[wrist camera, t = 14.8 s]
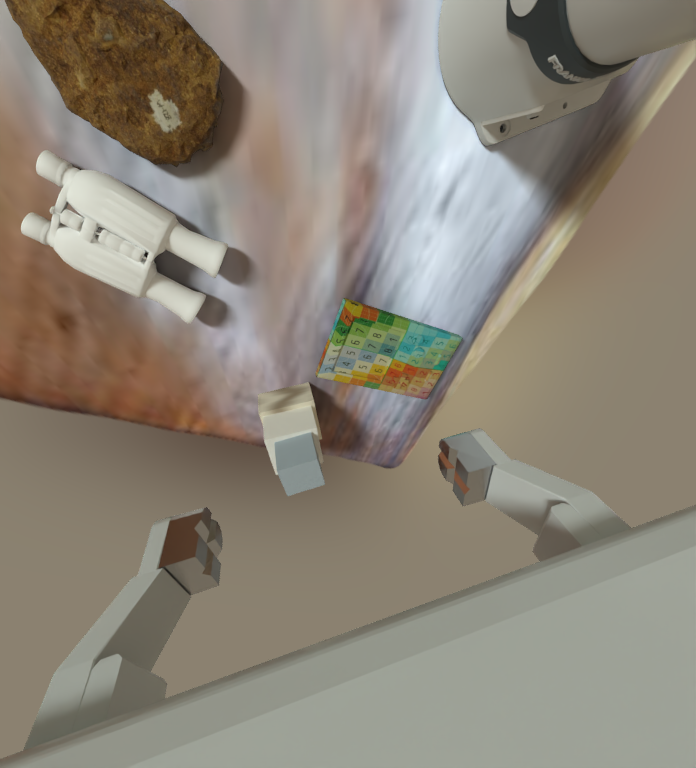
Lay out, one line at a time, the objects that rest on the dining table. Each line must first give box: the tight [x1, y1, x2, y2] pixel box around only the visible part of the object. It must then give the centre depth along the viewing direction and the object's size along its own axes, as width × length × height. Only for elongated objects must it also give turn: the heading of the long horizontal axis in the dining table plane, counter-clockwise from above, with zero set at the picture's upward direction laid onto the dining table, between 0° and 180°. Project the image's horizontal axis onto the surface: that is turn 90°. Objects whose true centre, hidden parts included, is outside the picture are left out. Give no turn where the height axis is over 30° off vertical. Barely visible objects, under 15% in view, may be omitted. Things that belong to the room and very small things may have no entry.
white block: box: [263, 406, 323, 475], centre depth 45 cm, size 7×7×5 cm
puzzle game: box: [315, 298, 463, 399], centre depth 47 cm, size 12×5×20 cm
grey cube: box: [274, 432, 325, 496], centre depth 41 cm, size 5×5×5 cm
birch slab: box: [258, 382, 322, 440], centre depth 49 cm, size 8×8×5 cm
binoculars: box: [21, 150, 228, 324], centre depth 32 cm, size 10×16×5 cm, turn 54°
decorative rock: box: [5, 0, 223, 167], centre depth 26 cm, size 11×4×15 cm
